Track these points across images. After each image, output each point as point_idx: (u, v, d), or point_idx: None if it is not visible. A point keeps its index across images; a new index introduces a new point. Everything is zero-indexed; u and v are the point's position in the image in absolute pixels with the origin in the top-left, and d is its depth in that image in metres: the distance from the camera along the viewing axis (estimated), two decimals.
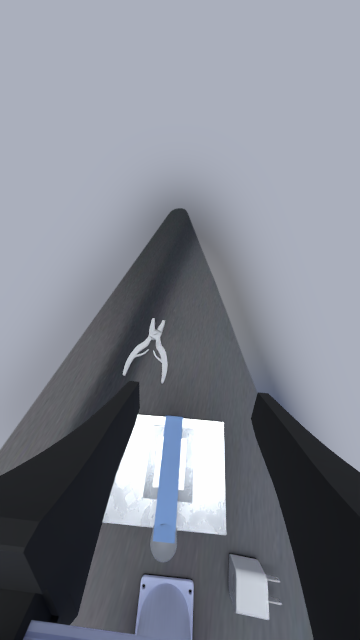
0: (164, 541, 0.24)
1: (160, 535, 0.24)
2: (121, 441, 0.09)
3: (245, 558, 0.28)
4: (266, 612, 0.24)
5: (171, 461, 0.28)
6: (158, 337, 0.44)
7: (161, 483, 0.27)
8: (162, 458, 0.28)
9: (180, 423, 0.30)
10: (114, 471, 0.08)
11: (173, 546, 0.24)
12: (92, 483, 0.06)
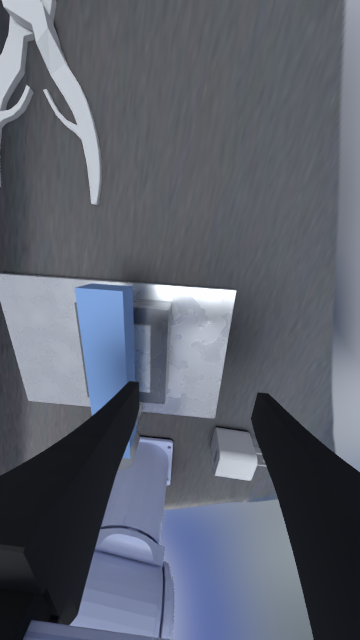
0: None
1: None
2: (121, 441, 0.09)
3: (234, 433, 0.23)
4: (248, 478, 0.21)
5: (108, 374, 0.13)
6: (38, 12, 0.12)
7: (94, 402, 0.14)
8: (88, 370, 0.13)
9: (116, 305, 0.11)
10: (114, 471, 0.08)
11: (128, 460, 0.16)
12: (92, 483, 0.06)
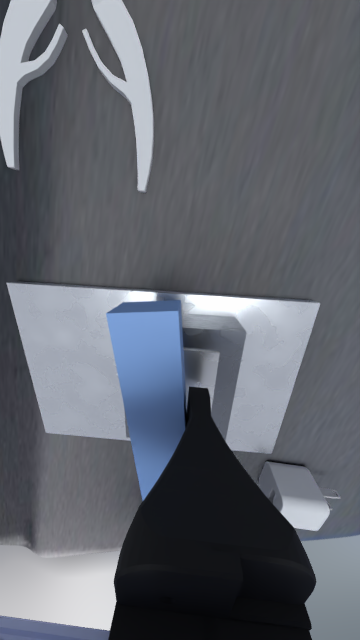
0: None
1: None
2: None
3: (291, 470, 0.19)
4: (315, 528, 0.17)
5: (160, 426, 0.09)
6: None
7: (141, 462, 0.10)
8: (131, 422, 0.09)
9: (169, 331, 0.07)
10: None
11: None
12: None
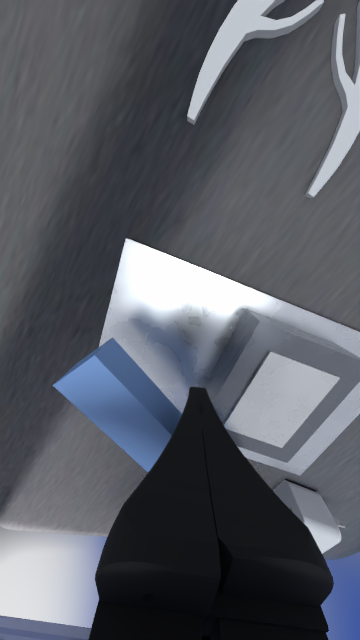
0: None
1: None
2: None
3: (307, 493, 0.20)
4: None
5: (156, 448, 0.10)
6: None
7: None
8: (133, 455, 0.10)
9: (101, 373, 0.08)
10: None
11: None
12: None
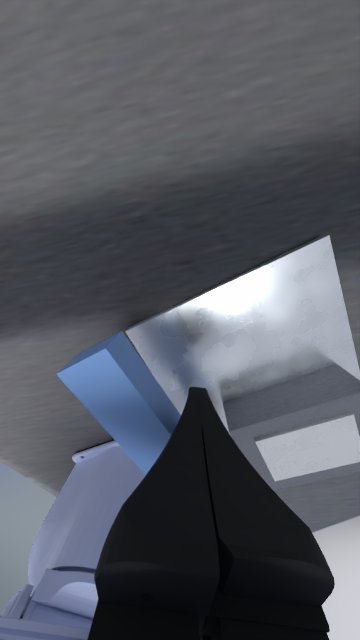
0: None
1: None
2: None
3: None
4: None
5: (154, 447, 0.10)
6: None
7: None
8: (129, 452, 0.10)
9: (109, 367, 0.08)
10: None
11: None
12: None
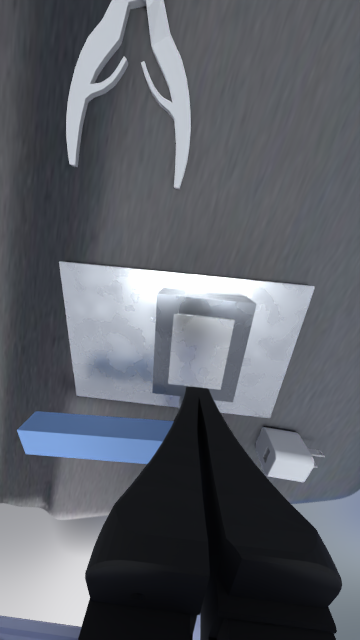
0: None
1: None
2: None
3: (284, 433, 0.23)
4: (302, 479, 0.21)
5: (88, 446, 0.16)
6: None
7: (120, 458, 0.16)
8: (88, 457, 0.16)
9: (28, 434, 0.16)
10: None
11: None
12: None
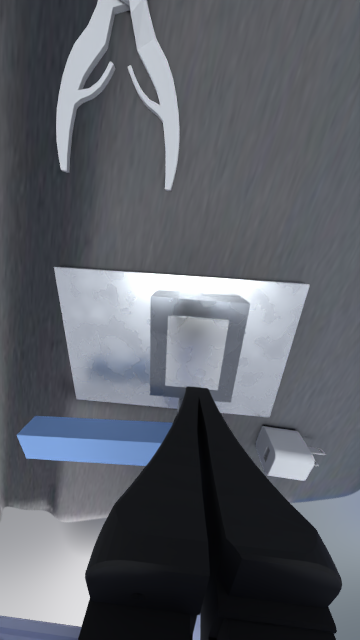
0: None
1: None
2: None
3: (284, 432, 0.22)
4: (303, 478, 0.21)
5: (87, 449, 0.16)
6: None
7: (119, 461, 0.16)
8: (87, 460, 0.16)
9: (27, 439, 0.16)
10: None
11: None
12: None
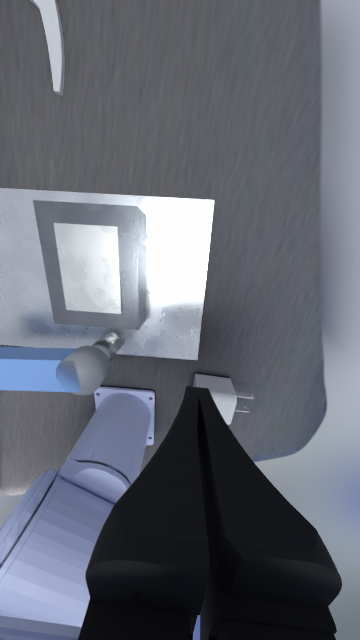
0: (76, 376, 0.14)
1: (71, 382, 0.14)
2: None
3: (214, 378, 0.22)
4: (228, 421, 0.20)
5: None
6: None
7: (10, 386, 0.15)
8: None
9: None
10: None
11: (78, 362, 0.14)
12: None
